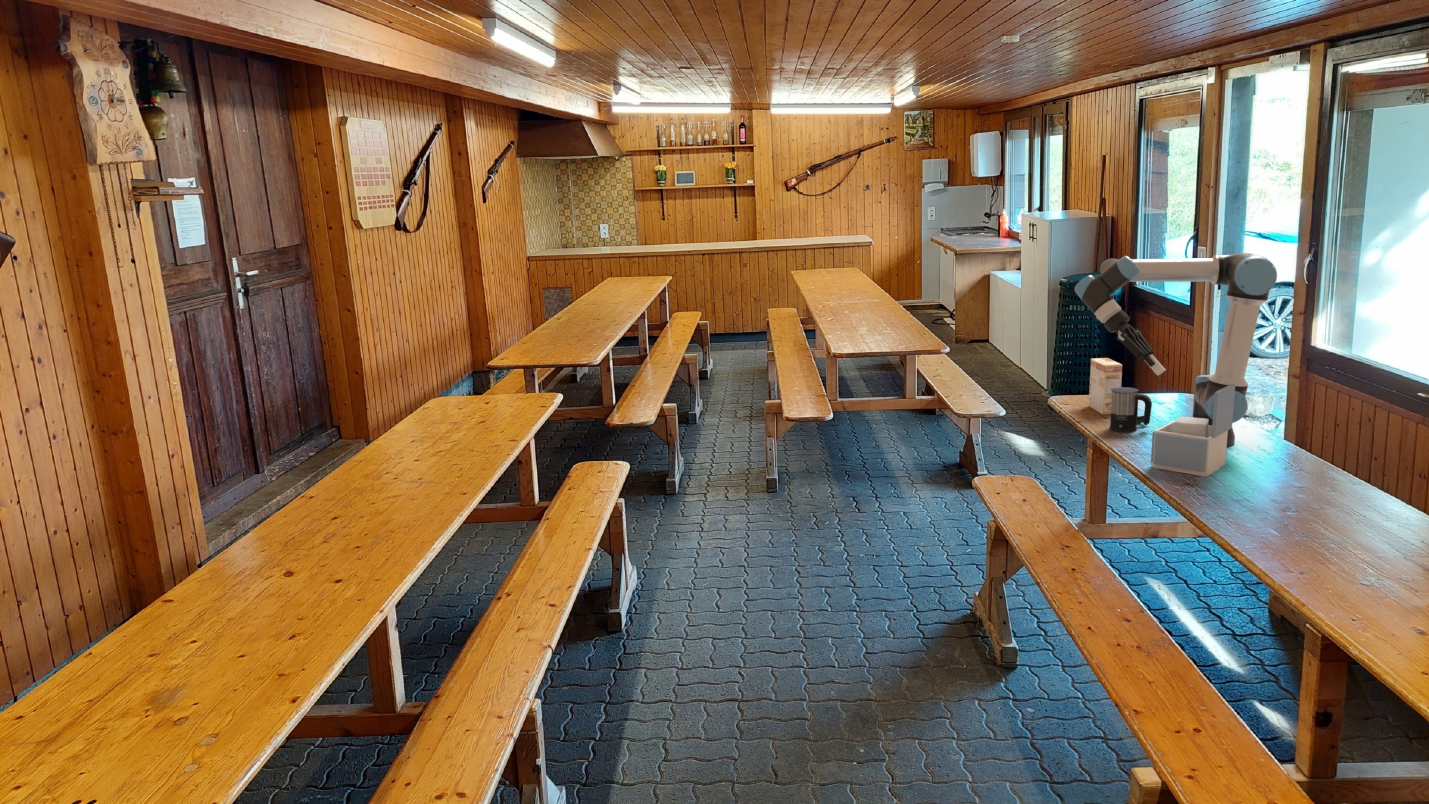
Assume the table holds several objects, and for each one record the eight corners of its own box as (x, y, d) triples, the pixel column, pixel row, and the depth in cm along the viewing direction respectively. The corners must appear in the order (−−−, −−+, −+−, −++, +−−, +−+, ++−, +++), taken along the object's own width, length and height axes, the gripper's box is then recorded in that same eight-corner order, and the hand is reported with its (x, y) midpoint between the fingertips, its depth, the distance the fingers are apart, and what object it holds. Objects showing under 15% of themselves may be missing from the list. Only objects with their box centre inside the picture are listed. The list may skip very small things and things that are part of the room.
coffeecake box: (1120, 414, 379) (1123, 364, 374) (1101, 414, 379) (1104, 365, 374) (1106, 405, 393) (1108, 357, 389) (1088, 406, 393) (1090, 358, 389)
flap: (1211, 437, 298) (1214, 392, 295) (1228, 427, 308) (1231, 383, 305) (1214, 438, 297) (1218, 392, 294) (1231, 427, 307) (1235, 384, 304)
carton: (1148, 467, 312) (1150, 430, 309) (1170, 454, 324) (1172, 419, 321) (1205, 477, 300) (1208, 439, 297) (1226, 463, 312) (1229, 427, 309)
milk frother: (1110, 432, 354) (1112, 391, 351) (1105, 421, 369) (1107, 382, 366) (1152, 433, 351) (1155, 392, 347) (1146, 422, 365) (1149, 383, 362)
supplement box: (1202, 471, 306) (1206, 424, 302) (1171, 468, 310) (1174, 422, 307) (1206, 463, 313) (1209, 418, 310) (1175, 460, 318) (1178, 415, 314)
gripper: (1112, 321, 327) (1160, 376, 319) (1095, 327, 318) (1144, 383, 310) (1129, 306, 322) (1178, 362, 314) (1112, 311, 313) (1162, 368, 305)
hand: (1161, 372), depth 312 cm, fingers closed
